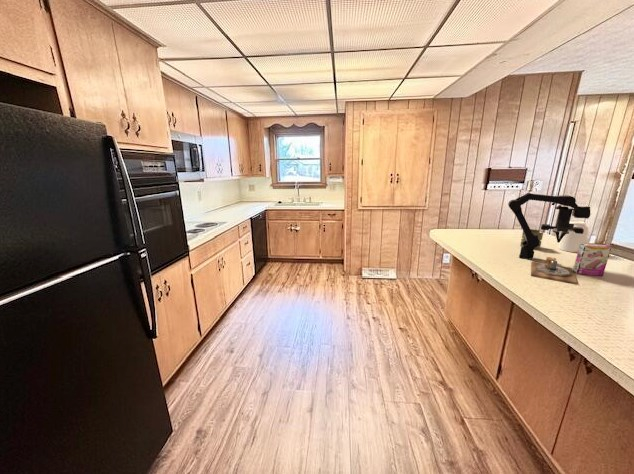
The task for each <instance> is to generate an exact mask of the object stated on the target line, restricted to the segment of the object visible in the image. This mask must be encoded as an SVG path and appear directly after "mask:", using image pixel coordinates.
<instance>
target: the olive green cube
mask: <svg viewBox="0 0 634 474" xmlns="http://www.w3.org/2000/svg"><path fill="white" fill-rule="evenodd" d="M530 230H531V232H532V233H533V234H534V233H536V234H537V236H538V239H539V240H540V241H539V245H538V246H537V247H535V248H534V250H540V249H541V246H542V240H543V236H544V232H543V231H541V232H540V230H538V229H532V228H530ZM524 241H526V239H525V234H524V232H523V231H522V234H521V241H520V248H521V247H522V244H521V243H522V242H524Z"/></svg>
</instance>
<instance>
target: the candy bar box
mask: <svg viewBox="0 0 634 474" xmlns="http://www.w3.org/2000/svg"><path fill="white" fill-rule="evenodd" d="M611 251H612V247H610V246H608V245H606V244H594V243H585V244H583V243H580V246H579V250H578V252H576V253H577V254H576V256H575V261H574V264H573V268H572V270H573V273H574V274H577V275H587V276H595V277H596V276H598V277H603V276H604V273H605V270H606V266H607V263H608V260H609V257H610V254H611Z"/></svg>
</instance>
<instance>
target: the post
mask: <svg viewBox="0 0 634 474" xmlns="http://www.w3.org/2000/svg"><path fill="white" fill-rule="evenodd" d="M557 264H558V261H557V260H556V261H554V260H552V261H551V266H550V270H554V271H555V270H556V266H558V265H557Z"/></svg>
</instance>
